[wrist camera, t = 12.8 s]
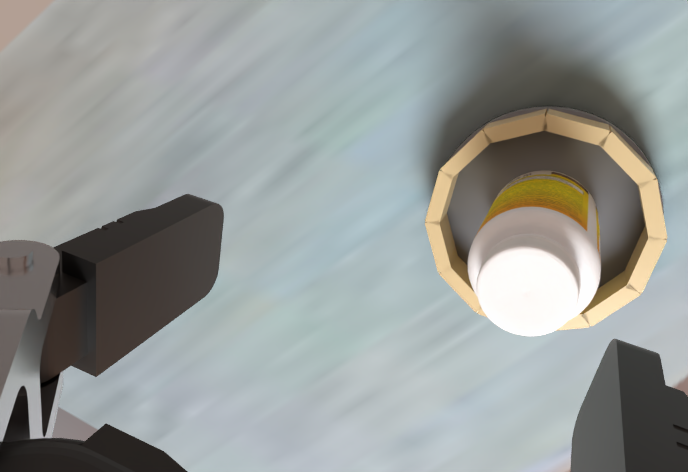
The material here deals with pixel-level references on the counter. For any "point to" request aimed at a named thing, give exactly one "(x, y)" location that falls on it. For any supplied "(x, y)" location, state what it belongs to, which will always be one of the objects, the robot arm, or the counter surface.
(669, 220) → the counter surface
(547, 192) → the supplement bottle
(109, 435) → the robot arm
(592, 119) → the tan faceted ring
